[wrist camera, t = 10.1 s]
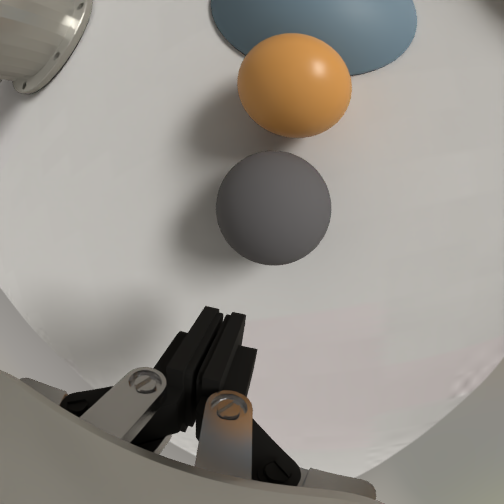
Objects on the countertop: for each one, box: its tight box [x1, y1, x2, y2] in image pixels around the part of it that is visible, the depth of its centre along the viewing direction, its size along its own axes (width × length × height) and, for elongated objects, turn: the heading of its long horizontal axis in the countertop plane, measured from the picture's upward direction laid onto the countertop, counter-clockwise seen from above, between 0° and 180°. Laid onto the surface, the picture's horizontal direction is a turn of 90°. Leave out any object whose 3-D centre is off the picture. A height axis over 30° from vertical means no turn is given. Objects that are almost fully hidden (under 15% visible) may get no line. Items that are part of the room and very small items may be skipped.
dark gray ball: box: [216, 151, 331, 265], centre depth 13 cm, size 6×6×6 cm
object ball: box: [237, 33, 352, 138], centre depth 12 cm, size 6×6×6 cm
